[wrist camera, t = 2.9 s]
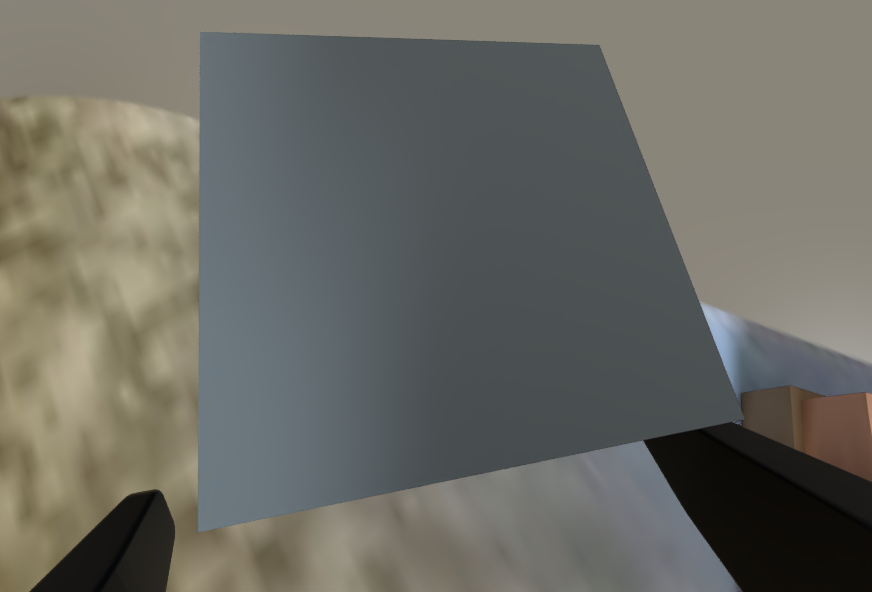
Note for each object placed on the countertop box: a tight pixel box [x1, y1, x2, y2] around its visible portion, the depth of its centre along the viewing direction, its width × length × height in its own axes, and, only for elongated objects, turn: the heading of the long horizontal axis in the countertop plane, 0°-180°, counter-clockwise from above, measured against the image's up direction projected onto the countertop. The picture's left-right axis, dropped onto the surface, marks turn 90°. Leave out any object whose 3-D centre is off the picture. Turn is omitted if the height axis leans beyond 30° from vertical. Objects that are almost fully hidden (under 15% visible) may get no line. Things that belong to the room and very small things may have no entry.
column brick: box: [198, 32, 745, 532], centre depth 11 cm, size 6×6×14 cm
